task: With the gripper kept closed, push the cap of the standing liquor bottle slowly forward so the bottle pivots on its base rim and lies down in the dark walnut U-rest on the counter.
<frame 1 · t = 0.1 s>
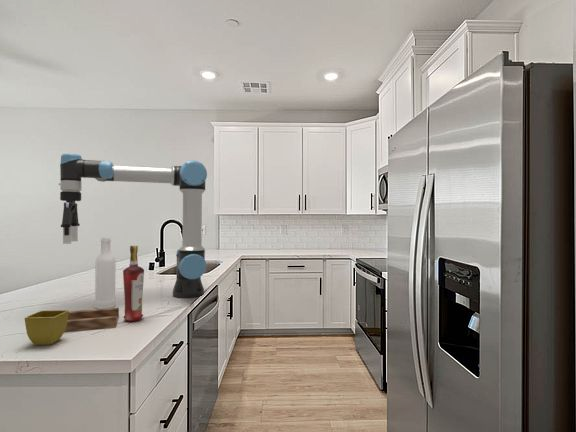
hand: (70, 242, 151), 28 cm above the counter, fingers open, 13 cm apart
rest: (79, 324, 131), on the counter
bottle: (105, 307, 156), on the counter
liquor: (133, 320, 137), on the counter
flower pot: (47, 343, 113), on the counter
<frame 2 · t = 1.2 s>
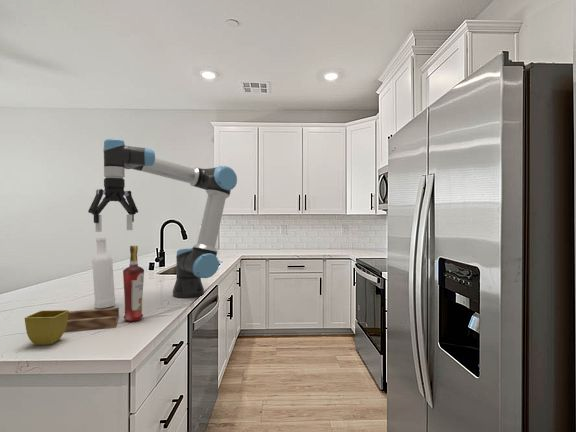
hand: (114, 230, 146), 33 cm above the counter, fingers open, 13 cm apart
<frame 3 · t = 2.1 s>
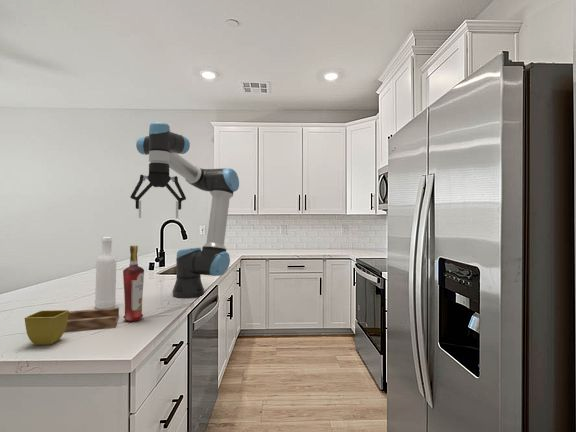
hand: (158, 218, 141), 39 cm above the counter, fingers open, 13 cm apart
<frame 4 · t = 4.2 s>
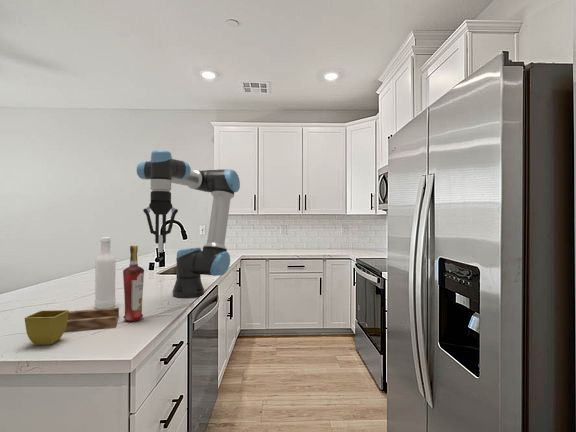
hand: (160, 251, 141), 25 cm above the counter, fingers closed
nothing on the counter moved.
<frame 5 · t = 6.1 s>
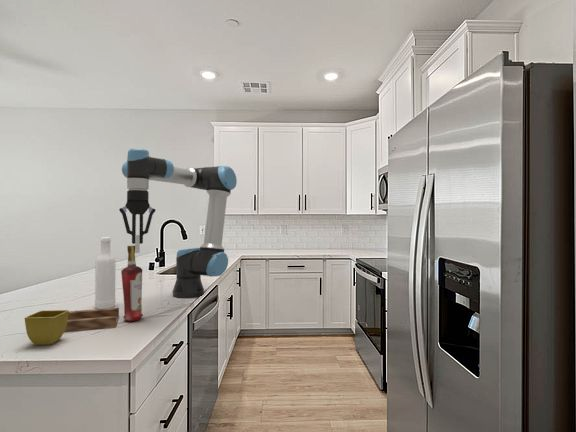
hand: (137, 252, 138), 26 cm above the counter, fingers closed
liquor: (133, 320, 137), on the counter, touching gripper
everything else where it was.
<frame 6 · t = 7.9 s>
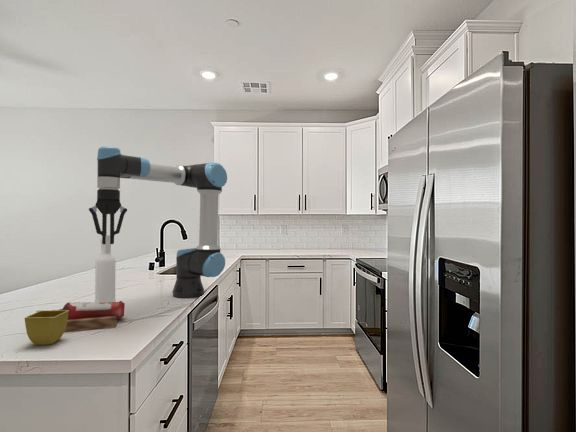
hand: (108, 253, 134), 26 cm above the counter, fingers closed
liquor: (124, 309, 138), point 4 cm above the counter, touching rest
everything else where it was.
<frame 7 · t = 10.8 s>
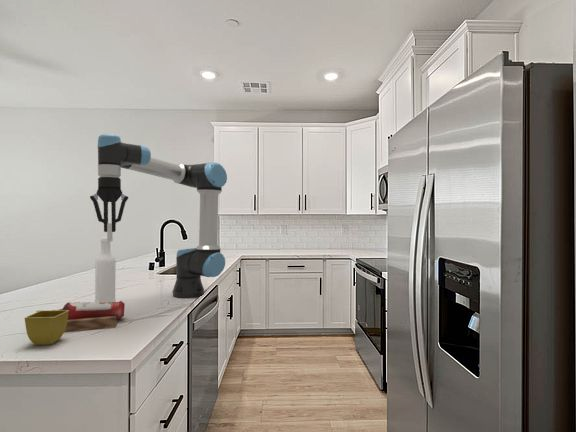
hand: (109, 240, 135), 30 cm above the counter, fingers closed
nothing on the counter moved.
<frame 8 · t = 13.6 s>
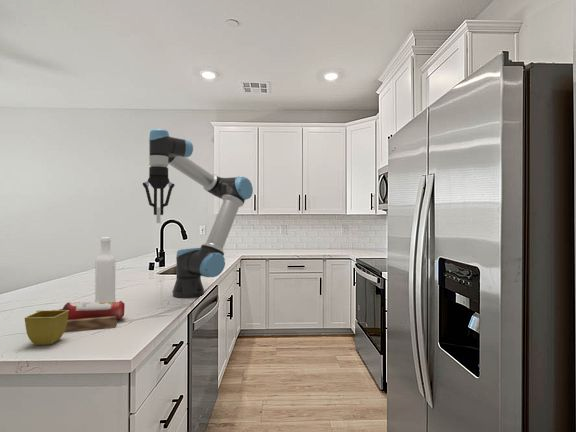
hand: (158, 222, 153), 36 cm above the counter, fingers closed
nothing on the counter moved.
at the end: liquor tilted 88°; liquor inside the target area on the rest (8.1 cm from its centre), point 3.8 cm above the rest's base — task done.
